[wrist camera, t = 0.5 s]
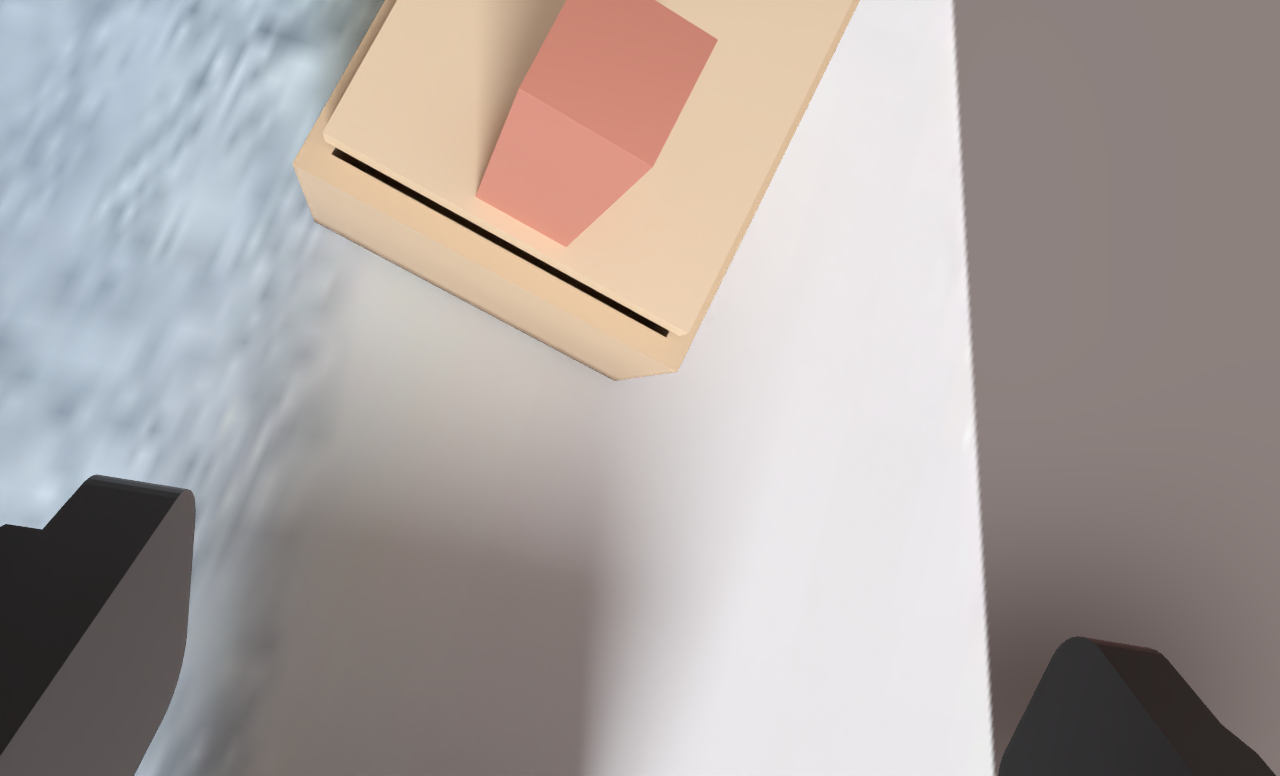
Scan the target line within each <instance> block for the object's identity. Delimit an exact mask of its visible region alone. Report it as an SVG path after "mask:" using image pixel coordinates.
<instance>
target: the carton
mask: <svg viewBox="0 0 1280 776" xmlns="http://www.w3.org/2000/svg"><path fill="white" fill-rule="evenodd" d="M396 1H397V0H385V1H384V3H383V5H382V7H381V8H380V10H379V12H378V14H377V15H376V17H375V19H374V21H373V23H372V24H371V26H370V28H369V30H368V31H367V33H366V35H365V37H364V38H363V40H362V42H361V44H360V45H359V47H358V49H357V51H356V52H355V54H354V56H353V58H352V59H351V61H350V63H349V65H348V67H347V68H346V70H345V72H344V74H343V75H342V77H341V79H340V81H339V82H338V84H337V86H336V88H335V89H334V91H333V93H332V95H331V96H330V98H329V100H328V102H327V104H326V105H325V107H324V109H323V111H322V112H321V114H320V116H319V118H318V119H317V121H316V123H315V125H314V126H313V128H312V130H311V132H310V133H309V135H308V137H307V139H306V141H305V142H304V144H303V146H302V148H301V149H300V151H299V153H298V155H297V156H296V158H295V160H294V162H293V163H292V164H293V167H294V169H295V172H296V175H297V177H298V180H299V182H300V185H301V188H302V190H303V193H304V195H305V198H306V200H307V203H308V206H309V208H310V211H311V213H312V216H313V218H314V221H315V222H317V223H318V224H320V225H322V226H324V227H326V228H328V229H330V230H332V231H333V232H335V233H337V234H339V235H341V236H343V237H345V238H347V239H349V240H350V241H352V242H354V243H356V244H358V245H360V246H362V247H364V248H366V249H367V250H369V251H371V252H373V253H375V254H377V255H379V256H381V257H382V258H384V259H386V260H388V261H390V262H392V263H394V264H396V265H398V266H399V267H401V268H403V269H405V270H407V271H409V272H411V273H413V274H415V275H416V276H418V277H420V278H422V279H424V280H426V281H428V282H430V283H431V284H433V285H435V286H437V287H439V288H441V289H443V290H445V291H447V292H448V293H450V294H452V295H454V296H456V297H458V298H460V299H462V300H464V301H465V302H467V303H469V304H471V305H473V306H475V307H477V308H479V309H480V310H482V311H484V312H486V313H488V314H490V315H492V316H494V317H496V318H497V319H499V320H501V321H503V322H505V323H507V324H509V325H511V326H513V327H514V328H516V329H518V330H520V331H522V332H524V333H526V334H528V335H529V336H531V337H533V338H535V339H537V340H539V341H541V342H543V343H545V344H546V345H548V346H550V347H552V348H554V349H556V350H558V351H560V352H562V353H563V354H565V355H567V356H569V357H571V358H573V359H575V360H577V361H578V362H580V363H582V364H584V365H586V366H588V367H590V368H592V369H594V370H595V371H597V372H599V373H601V374H603V375H605V376H607V377H609V378H611V379H612V380H614V381H615V380H622V379H629V378H637V377H644V376H651V375H658V374H665V373H673V372H677V371H678V369H679V367H680V365H681V363H682V361H683V359H684V357H685V355H686V353H687V351H688V349H689V347H690V345H691V342H692V340H693V338H694V336H695V334H696V332H697V330H698V328H699V326H700V324H701V322H702V320H703V318H704V316H705V314H706V312H707V310H708V308H709V306H710V304H711V302H712V300H713V298H714V296H715V294H716V292H717V290H718V288H719V286H720V284H721V281H722V279H723V277H724V275H725V273H726V271H727V269H728V267H729V265H730V263H731V261H732V259H733V257H734V255H735V253H736V251H737V249H738V247H739V245H740V243H741V241H742V239H743V237H744V235H745V233H746V231H747V229H748V227H749V225H750V223H751V220H752V218H753V216H754V214H755V212H756V210H757V208H758V206H759V204H760V202H761V200H762V198H763V196H764V194H765V192H766V190H767V188H768V186H769V184H770V182H771V180H772V178H773V176H774V174H775V172H776V170H777V168H778V166H779V164H780V162H781V160H782V157H783V155H784V153H785V151H786V149H787V147H788V145H789V143H790V141H791V139H792V137H793V135H794V133H795V131H796V129H797V127H798V125H799V123H800V121H801V119H802V117H803V115H804V113H805V111H806V109H807V107H808V105H809V103H810V101H811V99H812V96H813V94H814V92H815V90H816V88H817V86H818V84H819V82H820V80H821V78H822V76H823V74H824V72H825V70H826V68H827V66H828V64H829V62H830V60H831V58H832V56H833V54H834V52H835V50H836V48H837V46H838V44H839V42H840V40H841V38H842V35H843V33H844V31H845V29H846V27H847V25H848V23H849V21H850V19H851V17H852V15H853V13H854V11H855V9H856V7H857V5H858V3H859V1H860V0H853V1H852V3H851V5H850V7H849V9H848V11H847V13H846V15H845V17H844V19H843V21H842V23H841V25H840V27H839V30H838V32H837V34H836V36H835V38H834V40H833V42H832V44H831V46H830V48H829V50H828V52H827V54H826V56H825V58H824V60H823V62H822V64H821V66H820V68H819V70H818V72H817V74H816V76H815V78H814V80H813V82H812V84H811V86H810V88H809V90H808V92H807V94H806V96H805V98H804V101H803V103H802V105H801V107H800V109H799V111H798V113H797V115H796V117H795V119H794V121H793V123H792V125H791V127H790V129H789V131H788V133H787V135H786V137H785V139H784V141H783V143H782V145H781V147H780V149H779V151H778V153H777V155H776V157H775V159H774V161H773V163H772V165H771V167H770V169H769V172H768V174H767V176H766V178H765V180H764V182H763V184H762V186H761V188H760V190H759V192H758V194H757V196H756V198H755V200H754V202H753V204H752V206H751V208H750V210H749V212H748V214H747V216H746V218H745V220H744V222H743V224H742V226H741V228H740V230H739V232H738V234H737V236H736V238H735V240H734V243H733V245H732V247H731V249H730V251H729V253H728V255H727V257H726V259H725V261H724V263H723V265H722V267H721V269H720V271H719V273H718V275H717V277H716V279H715V281H714V283H713V285H712V287H711V289H710V291H709V293H708V295H707V297H706V299H705V301H704V303H703V305H702V307H701V309H700V311H699V314H698V316H697V318H696V320H695V322H694V324H693V326H692V328H691V330H690V332H689V334H686V335H682V336H678V335H676V334H674V333H673V332H671V331H669V330H667V329H665V328H663V327H662V326H660V325H658V324H656V323H654V322H653V321H651V320H649V319H647V318H645V317H643V316H642V315H640V314H638V313H636V312H634V311H633V310H631V309H629V308H627V307H625V306H623V305H622V304H620V303H618V302H616V301H614V300H613V299H611V298H609V297H607V296H605V295H603V294H602V293H600V292H598V291H596V290H594V289H593V288H591V287H589V286H587V285H585V284H583V283H582V282H580V281H578V280H576V279H574V278H573V277H571V276H569V275H567V274H565V273H563V272H562V271H560V270H558V269H556V268H554V267H553V266H551V265H549V264H547V263H545V262H543V261H542V260H540V259H538V258H536V257H534V256H533V255H531V254H529V253H527V252H525V251H523V250H522V249H520V248H518V247H516V246H514V245H513V244H511V243H509V242H507V241H505V240H503V239H502V238H500V237H498V236H496V235H494V234H493V233H491V232H489V231H487V230H485V229H483V228H482V227H480V226H478V225H476V224H474V223H472V222H471V221H469V220H467V219H465V218H463V217H462V216H460V215H458V214H456V213H454V212H452V211H451V210H449V209H447V208H445V207H443V206H442V205H440V204H438V203H436V202H434V201H432V200H431V199H429V198H427V197H425V196H423V195H422V194H420V193H418V192H416V191H414V190H412V189H411V188H409V187H407V186H405V185H403V184H402V183H400V182H398V181H396V180H394V179H392V178H391V177H389V176H387V175H385V174H383V173H382V172H380V171H378V170H376V169H374V168H372V167H371V166H369V165H367V164H365V163H363V162H362V161H360V160H358V159H356V158H354V157H352V156H351V155H349V154H347V153H345V152H343V151H342V150H340V149H338V148H336V147H334V146H332V145H331V144H329V143H327V142H325V140H324V136H323V130H324V129H325V127H326V125H327V123H328V121H329V120H330V118H331V116H332V114H333V113H334V111H335V109H336V107H337V106H338V104H339V102H340V100H341V98H342V97H343V95H344V93H345V91H346V90H347V88H348V86H349V84H350V83H351V81H352V79H353V77H354V76H355V74H356V72H357V70H358V68H359V67H360V65H361V63H362V61H363V60H364V58H365V56H366V54H367V53H368V51H369V49H370V47H371V45H372V44H373V42H374V40H375V38H376V37H377V35H378V33H379V31H380V30H381V28H382V26H383V24H384V22H385V21H386V19H387V17H388V15H389V14H390V12H391V10H392V8H393V7H394V5H395V3H396Z"/></svg>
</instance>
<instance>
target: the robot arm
mask: <svg viewBox="0 0 1280 776" xmlns="http://www.w3.org/2000/svg"><path fill="white" fill-rule="evenodd" d="M195 512H196V509H195V498H194V495H193V493H192V491H191V490H188V489H182V488H176V487H170V486H164V485H158V484H151V483H145V482H139V481H133V480H127V479H121V478H114V477H108V476H102V475H93V476H91V477H90V478H88V479H87V480H86V481H85V482H84V483H83V484H82V485H81V486H80V487H79V489H78V490H77V491H76V492H75V493H74V494H73V495H72V497H71V498H70V499H69V500H68V501H67V502H66V503H65V504H64V506H63V507H62V508H61V509H60V510H59V511H58V512H57V514H56V515H55V516H54V517H53V518H52V519H51V520H50V522H49V523H48V524H47V525H46V526H45V527H44V528H43V530H41V529H35V528H28V527H22V526H15V525H8V524H5V525H3V526H1V527H0V776H134V774H135V772H136V770H137V769H138V767H139V765H140V763H141V761H142V759H143V757H144V755H145V753H146V751H147V749H148V747H149V745H150V743H151V741H152V739H153V737H154V735H155V733H156V731H157V729H158V728H159V726H160V724H161V722H162V720H163V718H164V716H165V714H166V711H167V709H168V707H169V704H170V702H171V699H172V696H173V694H174V691H175V688H176V685H177V681H178V678H179V674H180V670H181V666H182V662H183V657H184V652H185V646H186V638H187V626H188V612H189V598H190V584H191V571H192V557H193V543H194V529H195ZM998 776H1276V775H1275V774H1274V773H1273V772H1272V771H1271V769H1270V768H1269V767H1268V766H1267V765H1266V763H1265V762H1264V761H1263V760H1262V759H1261V757H1260V756H1259V755H1258V754H1257V753H1256V752H1255V751H1253V750H1252V749H1251V748H1250V747H1249V746H1247V745H1246V744H1245V743H1244V742H1242V741H1241V740H1240V739H1239V738H1237V737H1236V736H1235V735H1234V734H1232V733H1231V732H1230V731H1229V730H1228V729H1226V728H1225V727H1224V726H1223V725H1222V724H1221V723H1220V722H1219V721H1218V720H1217V718H1216V717H1215V716H1214V715H1213V714H1212V712H1211V711H1210V710H1209V709H1208V708H1207V707H1206V705H1205V704H1204V703H1203V702H1202V700H1201V699H1200V698H1199V697H1198V696H1197V695H1196V693H1195V692H1194V691H1193V690H1192V689H1191V687H1190V686H1189V685H1188V684H1187V682H1186V681H1185V680H1184V679H1183V678H1182V677H1181V675H1180V674H1179V673H1178V672H1177V671H1176V669H1175V668H1174V667H1173V666H1172V665H1171V663H1170V662H1169V661H1168V660H1167V659H1166V658H1165V657H1164V656H1163V655H1162V654H1161V653H1159V652H1158V651H1156V650H1154V649H1151V648H1147V647H1140V646H1134V645H1129V644H1123V643H1116V642H1110V641H1104V640H1098V639H1092V638H1086V637H1072V638H1070V639H1068V640H1066V641H1065V642H1063V643H1062V644H1061V645H1060V646H1059V647H1058V649H1057V650H1056V651H1055V653H1054V655H1053V657H1052V658H1051V661H1050V663H1049V664H1048V667H1047V668H1046V671H1045V672H1044V674H1043V676H1042V679H1041V680H1040V682H1039V685H1038V686H1037V688H1036V690H1035V692H1034V695H1033V696H1032V699H1031V700H1030V703H1029V704H1028V706H1027V708H1026V710H1025V712H1024V715H1023V716H1022V718H1021V720H1020V722H1019V724H1018V726H1017V728H1016V730H1015V732H1014V735H1013V736H1012V738H1011V740H1010V742H1009V744H1008V746H1007V748H1006V750H1005V753H1004V755H1003V757H1002V761H1001V764H1000V768H999V774H998Z"/></svg>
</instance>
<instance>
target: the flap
mask: <svg viewBox="0 0 1280 776" xmlns="http://www.w3.org/2000/svg"><path fill="white" fill-rule="evenodd" d="M852 1H853V0H397V1H396V3H395V5H394V7H393V8H392V10H391V12H390V14H389V15H388V17H387V19H386V21H385V22H384V24H383V26H382V28H381V30H380V31H379V33H378V35H377V37H376V38H375V40H374V42H373V44H372V45H371V47H370V49H369V51H368V53H367V54H366V56H365V58H364V60H363V61H362V63H361V65H360V67H359V68H358V70H357V72H356V74H355V76H354V77H353V79H352V81H351V83H350V84H349V86H348V88H347V90H346V91H345V93H344V95H343V97H342V98H341V100H340V102H339V104H338V106H337V107H336V109H335V111H334V113H333V114H332V116H331V118H330V120H329V121H328V123H327V125H326V127H325V129H324V130H323V136H324V140H325V142H327V143H329V144H331V145H332V146H334V147H336V148H338V149H340V150H342V151H343V152H345V153H347V154H349V155H351V156H352V157H354V158H356V159H358V160H360V161H362V162H363V163H365V164H367V165H369V166H371V167H372V168H374V169H376V170H378V171H380V172H382V173H383V174H385V175H387V176H389V177H391V178H392V179H394V180H396V181H398V182H400V183H402V184H403V185H405V186H407V187H409V188H411V189H412V190H414V191H416V192H418V193H420V194H422V195H423V196H425V197H427V198H429V199H431V200H432V201H434V202H436V203H438V204H440V205H442V206H443V207H445V208H447V209H449V210H451V211H452V212H454V213H456V214H458V215H460V216H462V217H463V218H465V219H467V220H469V221H471V222H472V223H474V224H476V225H478V226H480V227H482V228H483V229H485V230H487V231H489V232H491V233H493V234H494V235H496V236H498V237H500V238H502V239H503V240H505V241H507V242H509V243H511V244H513V245H514V246H516V247H518V248H520V249H522V250H523V251H525V252H527V253H529V254H531V255H533V256H534V257H536V258H538V259H540V260H542V261H543V262H545V263H547V264H549V265H551V266H553V267H554V268H556V269H558V270H560V271H562V272H563V273H565V274H567V275H569V276H571V277H573V278H574V279H576V280H578V281H580V282H582V283H583V284H585V285H587V286H589V287H591V288H593V289H594V290H596V291H598V292H600V293H602V294H603V295H605V296H607V297H609V298H611V299H613V300H614V301H616V302H618V303H620V304H622V305H623V306H625V307H627V308H629V309H631V310H633V311H634V312H636V313H638V314H640V315H642V316H643V317H645V318H647V319H649V320H651V321H653V322H654V323H656V324H658V325H660V326H662V327H663V328H665V329H667V330H669V331H671V332H673V333H674V334H676V335H678V336H682V335H686V334H689V332H690V330H691V328H692V326H693V324H694V322H695V320H696V318H697V316H698V314H699V311H700V309H701V307H702V305H703V303H704V301H705V299H706V297H707V295H708V293H709V291H710V289H711V287H712V285H713V283H714V281H715V279H716V277H717V275H718V273H719V271H720V269H721V267H722V265H723V263H724V261H725V259H726V257H727V255H728V253H729V251H730V249H731V247H732V245H733V243H734V240H735V238H736V236H737V234H738V232H739V230H740V228H741V226H742V224H743V222H744V220H745V218H746V216H747V214H748V212H749V210H750V208H751V206H752V204H753V202H754V200H755V198H756V196H757V194H758V192H759V190H760V188H761V186H762V184H763V182H764V180H765V178H766V176H767V174H768V172H769V169H770V167H771V165H772V163H773V161H774V159H775V157H776V155H777V153H778V151H779V149H780V147H781V145H782V143H783V141H784V139H785V137H786V135H787V133H788V131H789V129H790V127H791V125H792V123H793V121H794V119H795V117H796V115H797V113H798V111H799V109H800V107H801V105H802V103H803V101H804V98H805V96H806V94H807V92H808V90H809V88H810V86H811V84H812V82H813V80H814V78H815V76H816V74H817V72H818V70H819V68H820V66H821V64H822V62H823V60H824V58H825V56H826V54H827V52H828V50H829V48H830V46H831V44H832V42H833V40H834V38H835V36H836V34H837V32H838V30H839V27H840V25H841V23H842V21H843V19H844V17H845V15H846V13H847V11H848V9H849V7H850V5H851V3H852Z"/></svg>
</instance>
